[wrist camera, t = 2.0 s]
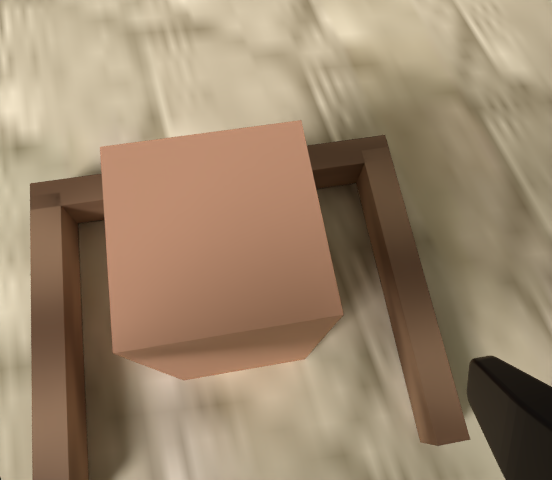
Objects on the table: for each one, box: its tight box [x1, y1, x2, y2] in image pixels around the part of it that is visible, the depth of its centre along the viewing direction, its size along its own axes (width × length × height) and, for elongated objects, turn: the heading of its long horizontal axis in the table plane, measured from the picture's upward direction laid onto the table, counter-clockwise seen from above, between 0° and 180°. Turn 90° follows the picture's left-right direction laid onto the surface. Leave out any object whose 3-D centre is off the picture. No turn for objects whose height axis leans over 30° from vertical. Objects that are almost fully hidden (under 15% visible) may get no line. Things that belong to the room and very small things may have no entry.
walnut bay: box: [30, 135, 470, 480], centre depth 20 cm, size 13×15×2 cm
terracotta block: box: [100, 120, 344, 380], centre depth 16 cm, size 5×5×10 cm
